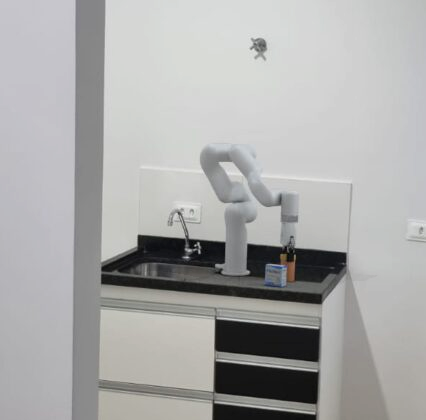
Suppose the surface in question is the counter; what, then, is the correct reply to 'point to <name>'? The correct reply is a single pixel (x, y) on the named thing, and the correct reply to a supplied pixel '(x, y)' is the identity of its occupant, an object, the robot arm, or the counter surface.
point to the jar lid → (284, 257)
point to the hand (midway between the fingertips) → (288, 260)
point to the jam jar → (289, 270)
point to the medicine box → (275, 275)
